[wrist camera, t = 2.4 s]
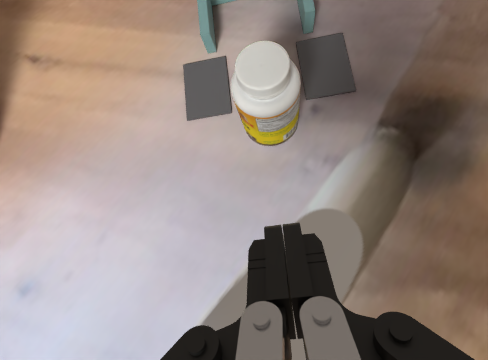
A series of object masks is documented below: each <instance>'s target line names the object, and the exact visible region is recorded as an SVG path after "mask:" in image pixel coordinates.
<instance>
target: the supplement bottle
mask: <svg viewBox="0 0 488 360" xmlns="http://www.w3.org/2000/svg"><path fill="white" fill-rule="evenodd" d="M300 88H301V79H300V74H299V71H298V69H297V67H296V65H295V64H294V63H293V62H292V61H291V60H290V58H289V55H288V53H287V51H286V50H285V49H284V48H283V47H282V46H281V45H279V44H277V43H275V42H272V41H258V42H254V43H252V44H250V45H248V46H246V47H245V48H244V49H243V50H242V51H241V52H240V53H239V55H238V57H237V59H236V62H235V71H234V73H233V76H232V79H231V93H232V97H233V100H234V102H235V105H236V107H237V110H238V112H239V115H240V118H241V120H242V123H243V125H244V128H245V130H246V132H247V134H248V136H249V137H250V138H251V139H252V140H253V141H254V142H256V143H257V144H259V145H262V146H268V147H273V146H278V145H281V144H283V143H285V142H286V141H288V140H289V139H290V138H291V137H292V136H293V134H294V133H295V131H296V128H297V124H298V115H299V103H300Z"/></svg>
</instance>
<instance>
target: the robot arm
mask: <svg viewBox="0 0 488 360" xmlns="http://www.w3.org/2000/svg"><path fill="white" fill-rule="evenodd" d="M264 233H265V239H261V240H254V241H253V243H252V245H251V246H250V248H249V255H248V283H247V305H246V309H245V311H244V313H243V314H242V316H241V317H240V318H239V319H238V320H237V321H236V322H234V323H233V324H231V325H229V326H227V327H225V328H222V329H220V330H217V331H215V330H213V329H212V328H211V327H209V326H204V325H201V326H196V327H193V328H191V329H190V330H188V331H187V332H186V333H185V334H184V335H183V336H182V337H181V338H180V339H179V340H178V341H177V342H176V343H175V344H174V345H173V347H172V348H171V349H170V350H169V351H168V352H167V353H166V354H165V355H164V356H163V357H162V358H161V359H160V360H291V359H292V353H291V343H290V339H296V334H295V326H294V318H295V324H296V330H297V336H298V339H301V338H303V342H304V349H305V354H306V360H474V359H473V358H471V357H470V356H468V355H467V354H465V353H464V352H462V351H461V350H459V349H458V348H456V347H455V346H454V345H452V344H451V343H449V342H448V341H446V340H445V339H443V338H442V337H440V336H439V335H437V334H436V333H434V332H433V331H431V330H430V329H428V328H427V327H425V326H424V325H422V324H421V323H419V322H418V321H416V320H415V319H413V318H412V317H410V316H408V315H406V314H403V313H399V312H387V313H383V314H382V315H380V316H379V317H378V318H377V319H375V318H371V317H366V316H362V315H358V314H355V313H353V312H351V311H349V310H348V309H346V308H345V307H344V306H343V305H342V304H341V303H340V301H339V300H338V298H337V296H336V292H335V289H334V285H333V282H332V278H331V274H330V271H329V267H328V263H327V260H326V256H325V253H324V249H323V245H322V242H321V241H320V239H319V238H318V237H317V236H316V235H315V234H304V235H302V233H301V228H300V223H291V224H283V233H284V239H283V233H282V227H281V225H275V226H267V227H264ZM284 241H285V245H284ZM285 250H286V251H285ZM292 306H293V309H292ZM293 312H294V318H293Z"/></svg>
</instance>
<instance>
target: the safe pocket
mask: <svg viewBox="0 0 488 360" xmlns="http://www.w3.org/2000/svg"><path fill="white" fill-rule="evenodd" d="M231 1H235V0H197V2H198V14H199V25H200V35H201V38H202V40H203V42H204V45H205V47H206V50H207V52H208V53H212V52H216V42H215V32H214V22H213V12H212V6H213V5H218V4H222V3H226V2H231ZM297 1H298V7H299V12H300V17H301V22H302V28H303V33H304V34H306V33H310V32H313V26H314V17H315V7H314V2H313V0H297Z"/></svg>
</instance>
